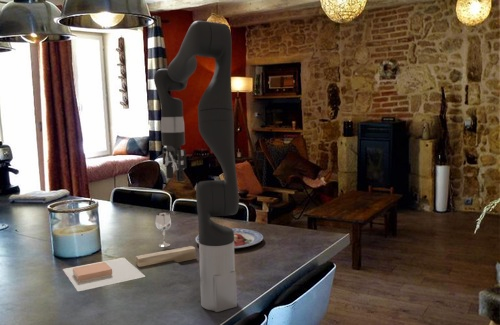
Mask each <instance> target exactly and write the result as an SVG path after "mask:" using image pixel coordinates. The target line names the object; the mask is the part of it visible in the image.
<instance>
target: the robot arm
mask: <svg viewBox="0 0 500 325" xmlns="http://www.w3.org/2000/svg"><path fill="white" fill-rule="evenodd" d="M232 40H233V39H232V32H231V28H230V27H229V25H228V24H226V23H221V22H215V21H208V20H195V21H193V22H192V23H191V24H190V26H189V28H188V30H187V32H186V34H185V36H184V38H183V41H182V42H181V45H180V48H179V50H178V52H177V53H176V56H175V57H174V58H173V59H172V60H171V62H170V63H169V65H168V66H167V68H159V69H157V70H156V72H155V73H154V76H153V77H154V78H153V82H154V85H155V89H156V91H157V95H158V99H159V101H160V102H159V103H160V109H161V110H160V111H161V113H160V114H161V122H160V124H161V125H160V129H161V130H160V131H161V145H162V146H163V147H162V165H164V166H165V169H166V172H165V173H166V176H165V177H166V178H167V179H174V168H175V170H176V171H175V173H176V174H175V175H176V177H175V178H176V181H177V183H179V182H184V179H185V176H184V175H185V174H184V170H185V169H187V166H188V165H187V163H188V162H187V151H186V149H182V148H181V146H185V144H186V137H185V136H186V134H185V120H184V104H183V103H184V102H183V100H182V99H180V98H177V97H172V96H171V95H170V94H169V92H180V91H182V90H183V91H184V90H185V89H186V88H187V85H188V80H189V78H190V77H191V76H193V74H194V73H195V72H196V69H197V67H198V60H197V57H196V56H198V57H201V58H203V57H204V58H212V59H214V61H215V62H214V64H215V65H214V73H213V75H212V78H211V80H210V82H209V84H208V86H207V88H206V89H205V91H204V92H203V94H202V96H201V97H200V100H199V103H198V105H197V118H198V119H197V120H198V132H199V134H200V136H201V138H202V139H203V140H204V142H205V144H206V145H207V147H208V148H209V149H210V150H211V152H212V153H213V154H214V156H215V158H216V160H217V161H218V163H219V164H220V167H221V170H222V172H223V176H224V179H216V180H202V181H201V180H200V181H199V182H198V183H197V185H196V190H195V195H196V196H195V198H196V199H195V200H196V209H197V210H196V211H197V221H198V222H197V223H198V235H199V244H198V254H199V255H198V256H199V280H200V282H199V284H200V285H199V286H200V304H201V307H202V308H203V309H205V310H208V311H213V312H215V313H219V312H222V311H226V310H230V309H232V308H236V307H238V302H237V300H238V299H237V272H236V269H235V264H236V263H235V249H234V232H233V230H232V229H231V227H228V226H227V225H222V224H219V223H217V222H215V221H213V220H212V219H211V217H220V216H223V217H224V216H226V217H227V216H233V215H237V213H238V211H239V208H240V205H239V204H240V198H239V196H240V195H239V185H238V176H237V167H236V158H235V133H234V131H235V126H234V124H235V122H234V107H233V93H232V53H233V50H232V49H233V47H232V46H233V45H232V44H233V41H232ZM173 166H174V167H173Z"/></svg>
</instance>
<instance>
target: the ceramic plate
mask: <svg viewBox="0 0 500 325" xmlns="http://www.w3.org/2000/svg"><path fill="white" fill-rule="evenodd" d="M230 228H231V227H230ZM231 229H232V230H233V232H234V250H236V249H241V248H246V247H250V246H254V245H257V244H259V243H261V241H263V239H264V236H263V235H262V233H261V232H258V231H256V230H253V229H252V230H251V229H247V228H236V227H235V228H234V227H233V228H231ZM195 242H196V243H197V244H198V245H199V234H198V235H197V236H195Z"/></svg>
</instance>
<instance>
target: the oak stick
mask: <svg viewBox="0 0 500 325" xmlns="http://www.w3.org/2000/svg"><path fill="white" fill-rule="evenodd" d="M196 253H197V252H196V247H194V246H193V245H189V246H183V247H178V248H174V249H173V248H172V249H167V250H161V251H158V252H152V253H147V254H146V253H145V254H141V255H140V254H139V255H136V256H135V264H136V266H138V267H139V268H140V267H145V266H150V265H154V264H155V265H156V264H161V263H165V262H166V263H167V262H171V261H173V262H176V263H181V262H184V261H190V260H195V259H197V258H196V257H197V256H196Z"/></svg>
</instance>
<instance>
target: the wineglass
mask: <svg viewBox="0 0 500 325" xmlns="http://www.w3.org/2000/svg"><path fill="white" fill-rule="evenodd" d="M155 227H156V229H158V231H161V232H162V236H163V243H159V244H158V247H159V248H167V247H169V246H171V243H168V242H166V240H165V239H166V238H165V237H166V231H168V230H169V229H171V227H172V219H171V215H170V213H169V212H160V213H159V212H158V213H157V214H156V216H155Z"/></svg>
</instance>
